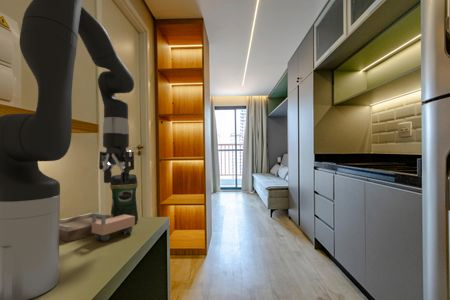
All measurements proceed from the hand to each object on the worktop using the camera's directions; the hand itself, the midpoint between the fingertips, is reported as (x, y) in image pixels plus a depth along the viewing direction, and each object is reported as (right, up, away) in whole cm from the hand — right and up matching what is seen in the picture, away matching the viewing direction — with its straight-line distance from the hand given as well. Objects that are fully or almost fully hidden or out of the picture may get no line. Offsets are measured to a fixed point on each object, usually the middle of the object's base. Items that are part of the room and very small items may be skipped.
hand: (116, 183), depth 72 cm
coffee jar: (-3, -17, +13) cm, 22 cm away
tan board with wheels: (0, -17, -1) cm, 17 cm away
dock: (-13, -17, +4) cm, 22 cm away
